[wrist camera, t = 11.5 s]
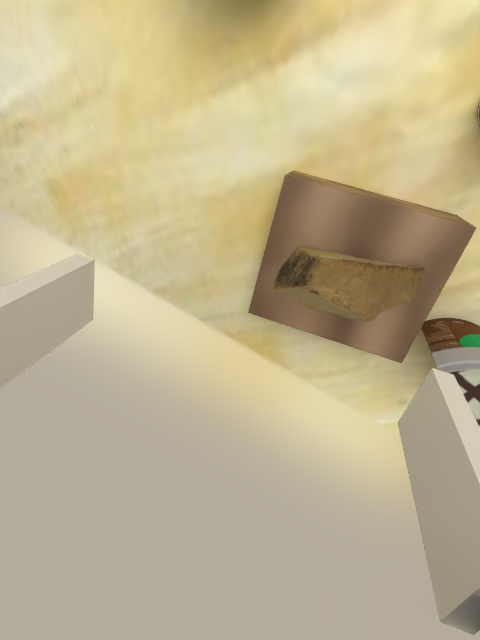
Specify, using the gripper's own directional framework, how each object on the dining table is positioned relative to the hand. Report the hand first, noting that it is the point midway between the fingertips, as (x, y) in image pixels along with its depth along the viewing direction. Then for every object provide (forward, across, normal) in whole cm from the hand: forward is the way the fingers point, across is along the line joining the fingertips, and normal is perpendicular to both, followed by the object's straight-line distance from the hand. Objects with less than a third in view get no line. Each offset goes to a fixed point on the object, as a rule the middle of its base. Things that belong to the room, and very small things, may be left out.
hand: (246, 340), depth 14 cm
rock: (+17, +5, -2) cm, 18 cm away
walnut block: (+22, +5, -2) cm, 23 cm away
